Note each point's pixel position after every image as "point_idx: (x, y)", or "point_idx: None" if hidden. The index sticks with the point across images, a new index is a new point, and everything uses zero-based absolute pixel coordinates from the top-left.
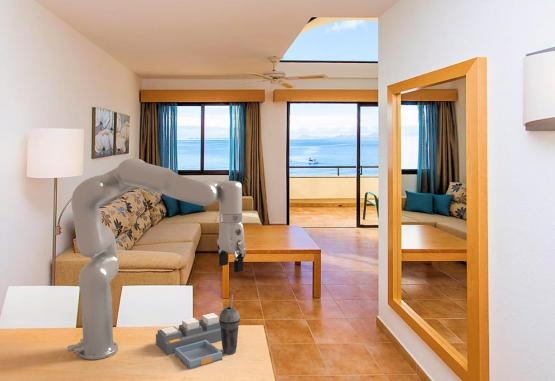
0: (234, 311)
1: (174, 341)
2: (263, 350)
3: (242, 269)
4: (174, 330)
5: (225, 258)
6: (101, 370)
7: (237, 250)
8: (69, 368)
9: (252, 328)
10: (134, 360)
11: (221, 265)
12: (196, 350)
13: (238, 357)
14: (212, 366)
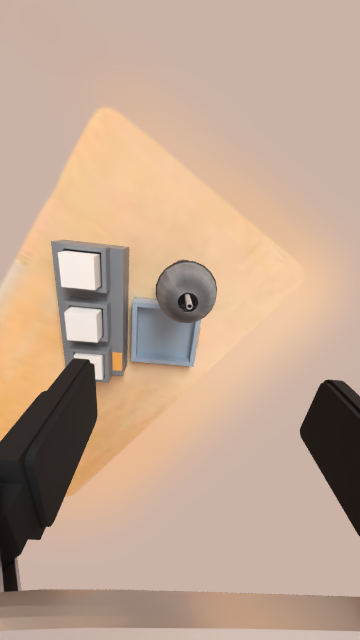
0: (207, 296)
1: (121, 363)
2: (229, 210)
3: (347, 391)
4: (96, 362)
5: (67, 431)
6: (116, 436)
7: (345, 619)
8: (88, 457)
9: (108, 135)
10: (113, 401)
11: (96, 412)
12: (145, 323)
13: (215, 274)
14: (209, 329)
